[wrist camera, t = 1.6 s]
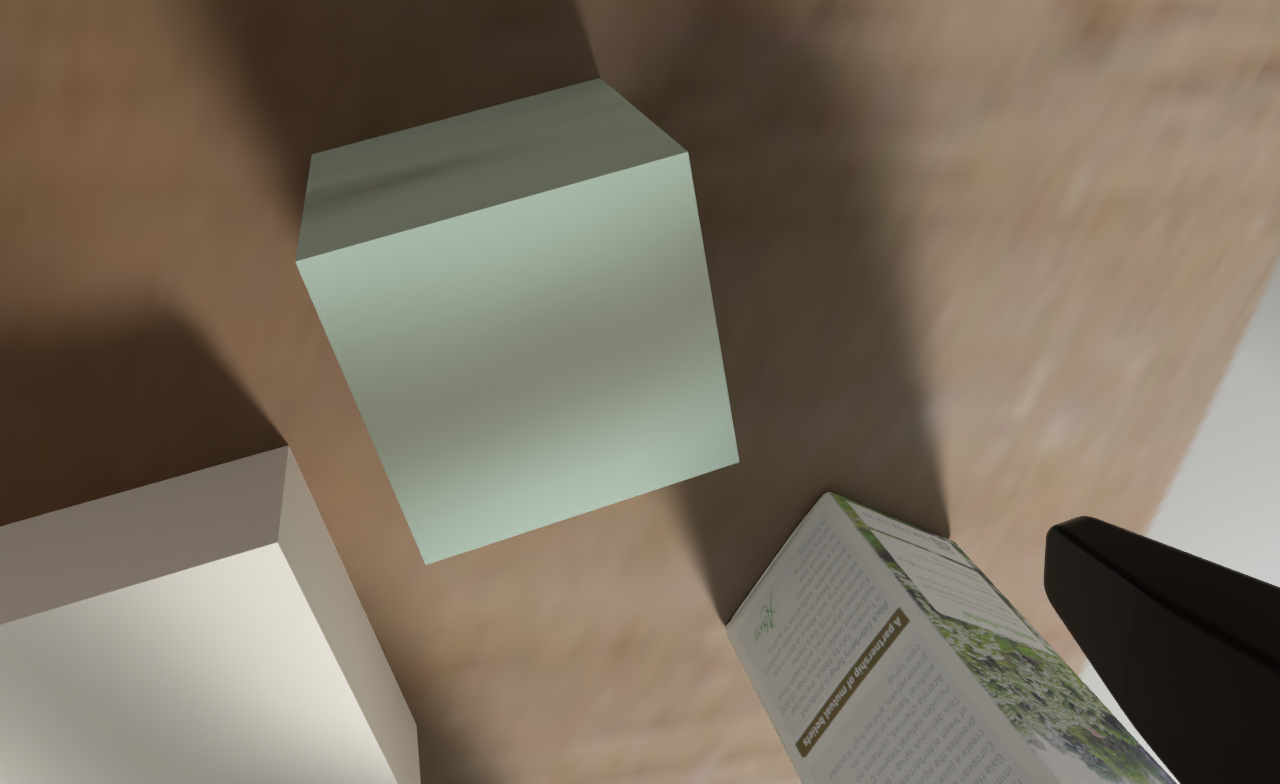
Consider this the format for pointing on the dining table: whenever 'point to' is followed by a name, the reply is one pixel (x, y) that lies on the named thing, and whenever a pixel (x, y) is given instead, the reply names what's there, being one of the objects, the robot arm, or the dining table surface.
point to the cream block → (193, 641)
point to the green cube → (520, 312)
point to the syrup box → (915, 666)
